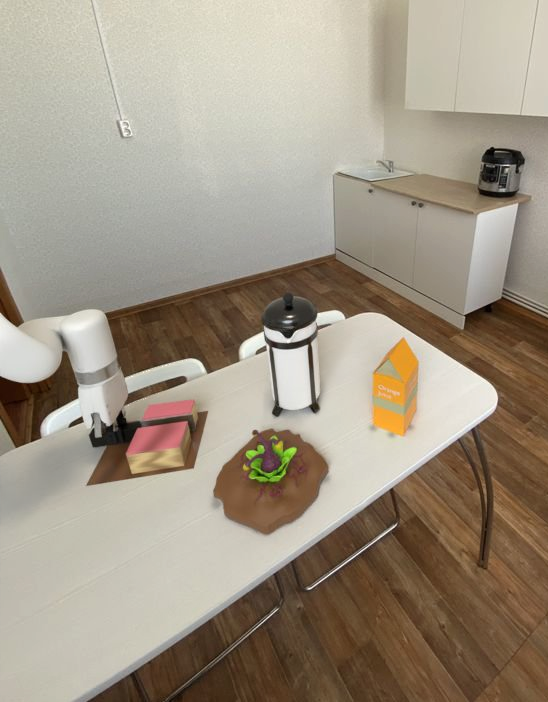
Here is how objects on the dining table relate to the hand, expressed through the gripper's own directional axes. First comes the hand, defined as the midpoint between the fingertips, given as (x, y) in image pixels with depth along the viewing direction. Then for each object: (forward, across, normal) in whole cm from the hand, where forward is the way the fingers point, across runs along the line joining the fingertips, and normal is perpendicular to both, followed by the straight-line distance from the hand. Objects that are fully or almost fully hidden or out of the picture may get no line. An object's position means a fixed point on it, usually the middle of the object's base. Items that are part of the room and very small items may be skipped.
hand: (118, 437), depth 84 cm
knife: (+1, 0, +6) cm, 6 cm away
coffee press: (+2, -8, +38) cm, 39 cm away
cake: (+2, +2, +8) cm, 8 cm away
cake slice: (+1, -2, +11) cm, 11 cm away
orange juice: (+2, +4, +62) cm, 62 cm away
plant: (+2, +15, +34) cm, 37 cm away
